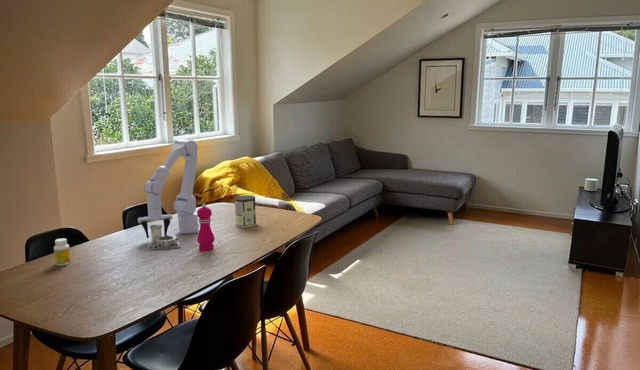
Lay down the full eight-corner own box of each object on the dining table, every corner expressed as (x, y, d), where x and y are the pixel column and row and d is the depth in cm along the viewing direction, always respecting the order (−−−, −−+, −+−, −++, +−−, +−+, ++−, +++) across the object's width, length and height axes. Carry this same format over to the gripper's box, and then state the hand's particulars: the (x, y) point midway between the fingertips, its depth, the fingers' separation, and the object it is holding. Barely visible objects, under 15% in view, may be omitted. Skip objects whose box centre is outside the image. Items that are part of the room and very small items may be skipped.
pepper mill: (218, 247, 208) (216, 202, 204) (207, 252, 202) (205, 206, 198) (204, 245, 211) (202, 201, 207) (194, 250, 205) (191, 204, 201)
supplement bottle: (55, 266, 187) (52, 242, 185) (55, 262, 191) (52, 238, 190) (71, 264, 189) (68, 240, 187) (70, 260, 194) (68, 237, 192)
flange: (179, 240, 219) (179, 233, 218) (179, 247, 208) (179, 240, 208) (154, 242, 216) (153, 235, 215) (152, 250, 206) (152, 243, 205)
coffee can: (244, 220, 251) (243, 194, 248) (260, 223, 246) (259, 196, 243) (231, 225, 243) (230, 198, 240) (246, 228, 237) (245, 200, 235)
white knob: (162, 238, 222) (161, 223, 221) (162, 241, 217) (161, 226, 216) (151, 239, 221) (150, 224, 219) (150, 242, 216) (149, 227, 215)
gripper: (169, 203, 223) (171, 231, 225) (136, 206, 216) (138, 236, 219) (172, 206, 216) (174, 235, 219) (138, 210, 210) (140, 240, 213)
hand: (156, 236), depth 219 cm, fingers open, 7 cm apart
